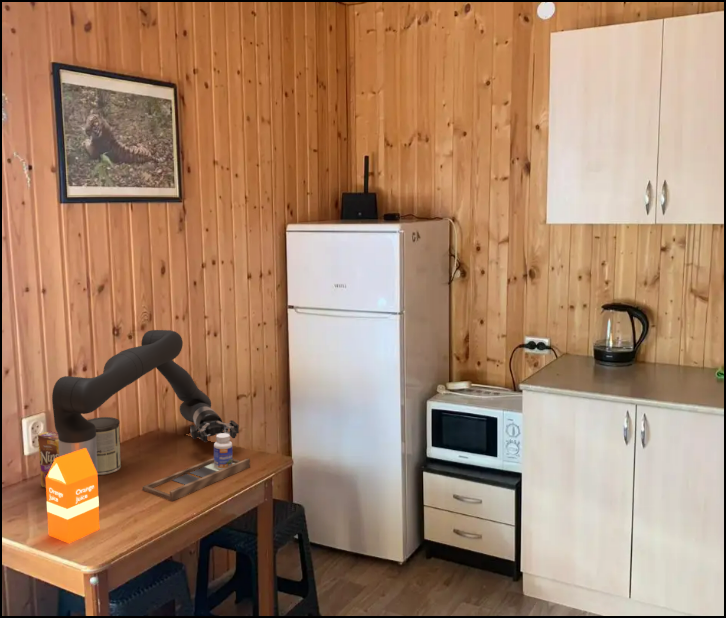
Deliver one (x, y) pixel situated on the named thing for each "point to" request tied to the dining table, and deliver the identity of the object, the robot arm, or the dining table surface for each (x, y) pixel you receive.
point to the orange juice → (72, 497)
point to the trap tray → (196, 478)
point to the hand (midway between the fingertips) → (220, 437)
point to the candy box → (47, 452)
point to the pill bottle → (222, 451)
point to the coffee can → (107, 444)
